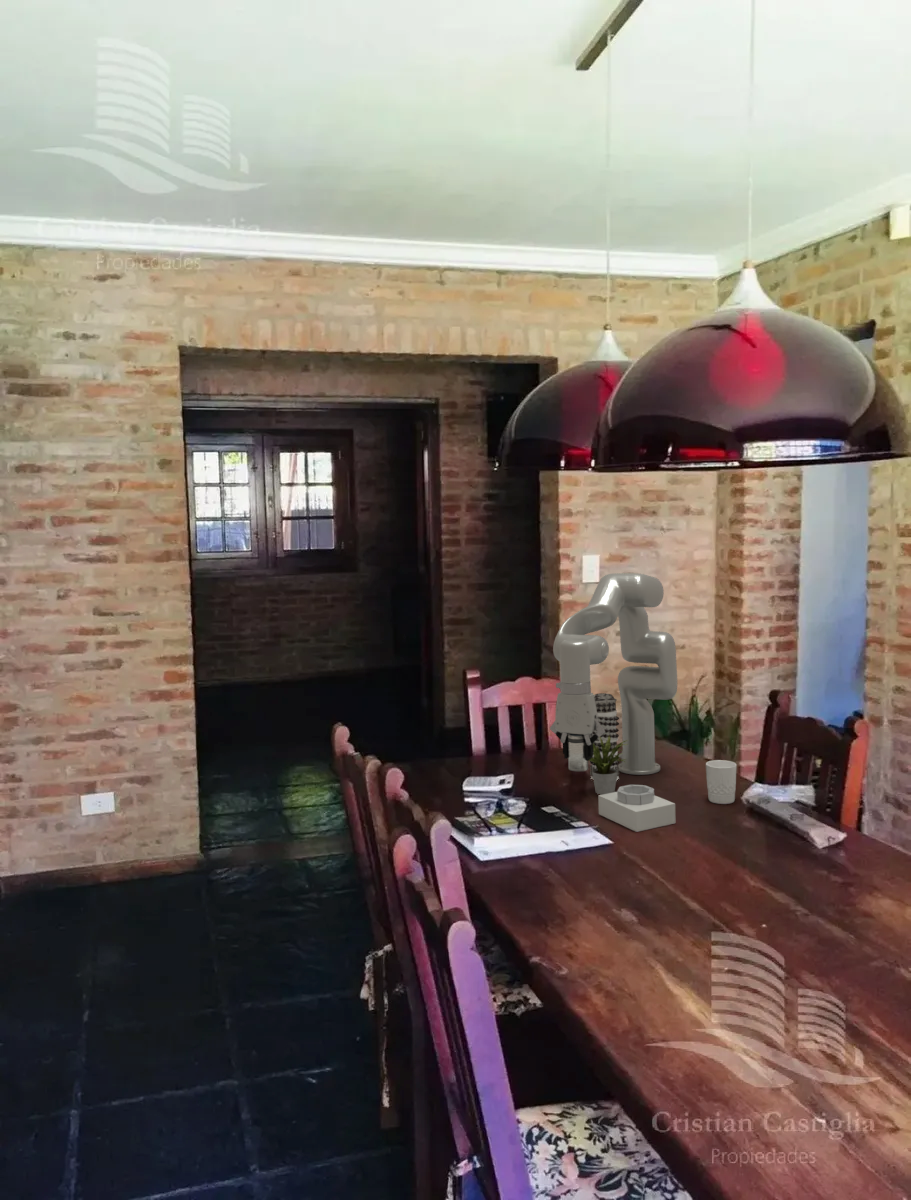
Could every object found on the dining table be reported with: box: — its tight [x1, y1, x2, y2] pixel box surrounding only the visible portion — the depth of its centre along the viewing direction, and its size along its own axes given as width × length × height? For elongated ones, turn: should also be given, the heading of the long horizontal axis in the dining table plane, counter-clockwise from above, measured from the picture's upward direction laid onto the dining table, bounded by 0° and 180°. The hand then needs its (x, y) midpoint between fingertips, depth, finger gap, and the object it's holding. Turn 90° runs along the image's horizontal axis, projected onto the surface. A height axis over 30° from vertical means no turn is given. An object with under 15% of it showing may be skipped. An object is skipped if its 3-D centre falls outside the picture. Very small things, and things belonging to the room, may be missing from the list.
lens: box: [567, 733, 589, 772], centre depth 236 cm, size 5×5×9 cm
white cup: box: [705, 759, 737, 805], centre depth 247 cm, size 8×8×10 cm
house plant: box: [588, 736, 629, 795], centre depth 256 cm, size 14×14×16 cm
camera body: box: [597, 784, 677, 832], centre depth 235 cm, size 16×12×8 cm
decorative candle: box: [589, 692, 620, 782], centre depth 271 cm, size 9×9×25 cm
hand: (578, 757), depth 236 cm, fingers closed on lens, 5 cm apart
